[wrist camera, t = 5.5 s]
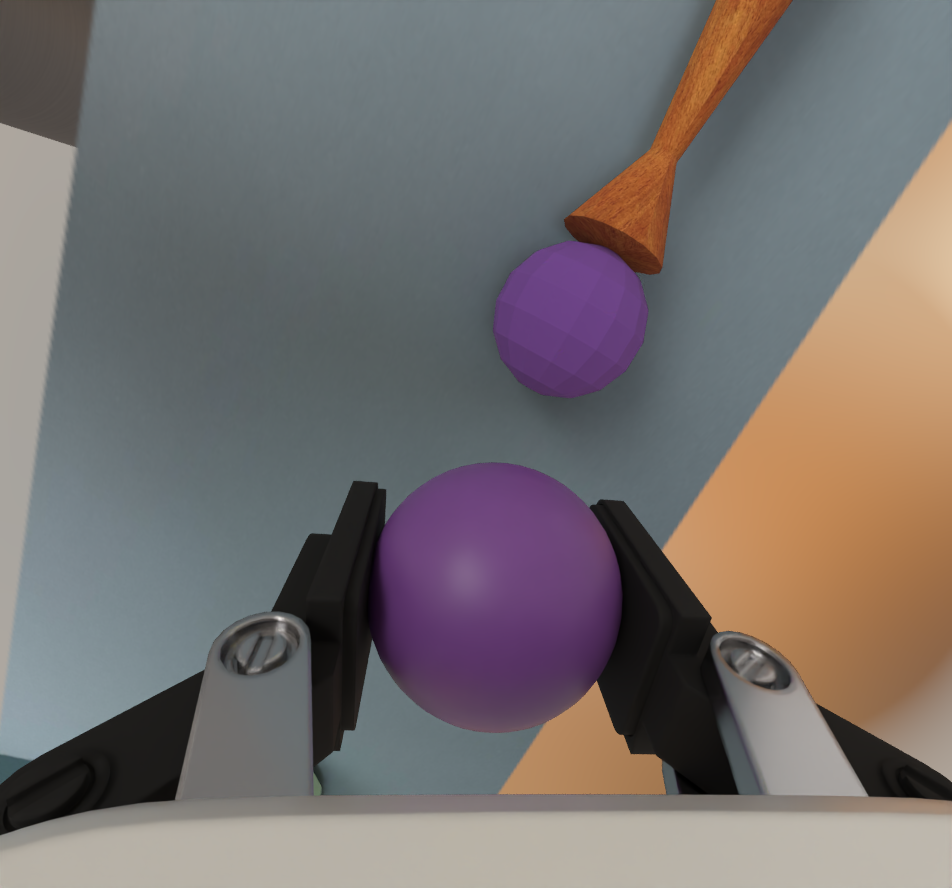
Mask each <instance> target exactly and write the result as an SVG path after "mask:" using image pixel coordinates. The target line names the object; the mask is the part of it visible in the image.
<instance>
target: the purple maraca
mask: <svg viewBox="0 0 952 888" xmlns="http://www.w3.org/2000/svg"><path fill="white" fill-rule="evenodd" d="M792 1H793V0H716V2H715V4H714V7H713V9H712V11H711V13H710V16H709V18H708V20H707V22H706V25H705V27H704V29H703V31H702V34H701V36H700V38H699V40H698V43H697V45H696V47H695V49H694V52H693V54H692V56H691V58H690V61H689V63H688V65H687V68H686V70H685V72H684V74H683V77H682V79H681V81H680V83H679V86H678V88H677V90H676V92H675V95H674V97H673V99H672V101H671V104H670V106H669V108H668V110H667V113H666V115H665V117H664V119H663V122H662V124H661V126H660V128H659V131H658V133H657V135H656V137H655V140H654V142H653V144H652V146H651V149H650V150H649V151H648V152H646V153H645V154H644V155H643V156H642V157H640V158H639V159H638V160H637V161H635V162H634V163H633V164H632V165H630V166H629V167H628V168H627V169H626V170H624V171H623V172H622V173H621V174H619V175H618V176H617V177H616V178H614V179H613V180H612V181H611V182H610V183H608V184H607V185H606V186H605V187H603V188H602V189H601V190H600V191H598V192H597V193H596V194H595V195H594V196H592V197H591V198H590V199H589V200H587V201H586V202H585V203H584V204H582V205H581V206H580V207H579V208H578V209H576V210H575V211H574V212H573V213H571V214H570V215H569V216H568V217H566V218H565V219H564V222H565V227H566V228H567V230H568V231H569V232H570V233H571V235H572V236H573V237H574V238H575V239H577V240H578V241H579V242H576V241H566V242H563V243H559V244H556V245H553V246H550V247H547V248H544V249H541V250H538V251H537V252H535V253H533V254H532V255H531V256H530V257H529V258H528V259H526V260H525V261H524V262H523V263H522V264H521V265H519V266H518V267H517V268H516V269H515V270H514V271H512V272H511V273H510V275H509V277H508V279H507V281H506V283H505V285H504V287H503V289H502V290H501V292H500V294H499V296H498V298H497V300H496V307H495V316H494V325H493V333H494V336H495V340H496V343H497V347H498V350H499V354H500V357H501V360H502V361H503V362H504V363H505V365H506V366H507V367H508V368H509V370H510V371H511V372H512V374H513V375H514V376H515V377H516V379H517V380H518V381H519V382H520V383H522V384H523V385H525V386H526V387H528V388H530V389H532V390H534V391H535V392H537V393H539V394H542V395H547V396H556V397H564V398H574V397H578V396H581V395H585V394H588V393H592V392H596V391H599V390H601V389H602V388H604V387H605V386H606V385H608V384H609V383H610V382H612V381H613V380H614V379H616V378H617V377H618V376H620V375H621V374H622V373H624V372H625V371H626V370H627V368H628V366H629V365H630V363H631V361H632V360H633V358H634V357H635V355H636V353H637V352H638V350H639V348H640V347H641V345H642V344H643V340H644V334H645V328H646V322H647V317H648V307H647V304H646V300H645V296H644V292H643V288H642V284H641V281H640V279H639V278H638V276H637V275H636V274H635V273H634V272H638V273H644V274H649V275H651V274H658V273H660V271H661V269H662V265H663V258H664V250H665V243H666V236H667V228H668V221H669V214H670V206H671V199H672V192H673V184H674V177H675V170H676V163H677V162H678V160H679V159H680V157H681V156H682V155H683V153H684V152H685V150H686V149H687V148H688V146H689V145H690V143H691V142H692V141H693V139H694V138H695V136H696V135H697V134H698V132H699V131H700V129H701V128H702V127H703V125H704V124H705V122H706V121H707V120H708V118H709V117H710V115H711V114H712V113H713V111H714V110H715V108H716V107H717V106H718V104H719V103H720V101H721V100H722V99H723V97H724V96H725V94H726V93H727V92H728V90H729V89H730V87H731V86H732V85H733V83H734V82H735V80H736V79H737V78H738V76H739V75H740V73H741V72H742V71H743V69H744V68H745V66H746V65H747V64H748V62H749V61H750V59H751V58H752V57H753V55H754V54H755V52H756V51H757V50H758V48H759V47H760V45H761V44H762V43H763V41H764V40H765V38H766V37H767V36H768V34H769V33H770V31H771V30H772V29H773V27H774V26H775V24H776V23H777V22H778V20H779V19H780V17H781V16H782V15H783V13H784V12H785V10H786V9H787V8H788V6H789V5H790V3H791V2H792Z"/></svg>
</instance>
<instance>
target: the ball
mask: <svg viewBox="0 0 952 888" xmlns="http://www.w3.org/2000/svg"><path fill="white" fill-rule="evenodd" d="M622 599H623V592H622V582H621V576H620V569H619V565H618V562H617V558H616V555H615V552H614V549H613V547H612V544H611V542H610V540H609V538H608V536H607V533H606V531H605V530H604V528H603V527H602V525H601V524H600V522H599V521H598V519H597V518H596V516H595V515H594V513H593V512H592V511H591V509H590V508H589V507H588V506H587V505H586V504H585V503H584V502H583V501H582V500H581V499H580V498H579V497H578V496H577V495H576V494H575V493H573V492H572V491H571V490H570V489H569V488H567V487H566V486H565V485H563V484H561V483H560V482H558V481H557V480H555V479H553V478H551V477H549V476H547V475H545V474H543V473H541V472H538V471H536V470H534V469H530V468H527V467H524V466H520V465H514V464H508V463H492V462H491V463H477V464H472V465H466V466H462V467H458V468H455V469H452V470H449V471H447V472H445V473H442V474H440V475H438V476H436V477H434V478H433V479H431V480H429V481H428V482H426V483H425V484H423V485H422V486H420V487H419V488H417V489H416V490H415V491H414V492H413V493H411V494H410V495H409V496H408V497H407V498H406V499H405V500H404V501H403V502H402V503H401V504H400V505H399V507H398V508H397V509H396V510H395V511H394V513H393V514H392V515H391V517H390V518H389V520H388V521H387V523H386V524H385V526H384V528H383V530H382V532H381V534H380V536H379V538H378V541H377V543H376V546H375V550H374V555H373V561H372V567H371V574H370V583H369V594H368V622H369V627H370V632H371V636H372V639H373V641H374V644H375V646H376V649H377V652H378V654H379V657H380V659H381V661H382V663H383V664H384V666H385V668H386V670H387V671H388V673H389V674H390V676H391V677H392V679H393V680H394V681H395V683H396V684H397V685H398V686H399V688H400V689H401V690H402V691H403V692H404V693H405V694H406V695H407V696H408V697H409V698H410V699H412V700H413V701H414V702H415V703H416V704H417V705H418V706H420V707H421V708H422V709H424V710H425V711H426V712H428V713H430V714H431V715H433V716H435V717H437V718H439V719H441V720H443V721H445V722H447V723H449V724H452V725H454V726H457V727H460V728H463V729H468V730H472V731H479V732H489V733H502V732H513V731H519V730H524V729H528V728H532V727H534V726H537V725H540V724H543V723H545V722H547V721H549V720H551V719H553V718H555V717H556V716H558V715H560V714H561V713H563V712H564V711H565V710H567V709H569V708H570V707H571V706H573V705H574V704H575V703H577V702H578V701H579V700H580V699H581V698H582V697H583V696H584V695H585V694H586V693H587V691H588V690H589V689H590V688H591V687H592V685H593V684H594V683H595V682H596V680H597V679H598V678H599V677H600V675H601V673H602V672H603V670H604V668H605V666H606V664H607V662H608V660H609V658H610V656H611V654H612V652H613V649H614V647H615V644H616V640H617V636H618V632H619V628H620V623H621V618H622Z"/></svg>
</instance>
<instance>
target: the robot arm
mask: <svg viewBox="0 0 952 888" xmlns="http://www.w3.org/2000/svg"><path fill="white" fill-rule="evenodd" d="M385 508H386V489H378V483H376V482H362V481H353V483H352V486H351V488H350V491H349V493H348V496H347V498H346V501H345V503H344V505H343V508H342V510H341V513H340V515H339V518H338V520H337V523H336V525H335V528H334V530H333V533H332V535H329V534H313V533H312V534H310V535H309V536H308V538H307V539H306V542H305V544H304V546H303V548H302V550H301V552H300V554H299V556H298V558H297V560H296V562H295V564H294V566H293V568H292V570H291V572H290V574H289V576H288V578H287V580H286V583H285V585H284V587H283V589H282V591H281V593H280V595H279V597H278V599H277V601H276V603H275V605H274V607H273V609H272V611H271V612H262V613H258V614H254V615H250V616H248V617H245V618H243V619H241V620H239V621H236V622H235V623H233V624H232V625H231V626H229V627H228V628H226V629H225V630H223V632H222V633H221V634H220V635H219V636H218V637H217V638H216V639H215V641H214V642H213V644H212V647H211V649H210V651H209V654H208V658H207V663H206V667H205V670H203V671H201V672H199V673H197V674H195V675H193V676H192V677H190V678H188V679H186V680H184V681H182V682H180V683H178V684H176V685H174V686H172V687H171V688H169V689H167V690H165V691H163V692H161V693H159V694H157V695H155V696H153V697H152V698H150V699H148V700H146V701H144V702H142V703H140V704H138V705H136V706H134V707H132V708H131V709H129V710H127V711H125V712H123V713H121V714H119V715H117V716H115V717H113V718H111V719H110V720H108V721H106V722H104V723H102V724H100V725H98V726H96V727H94V728H92V729H90V730H89V731H87V732H85V733H83V734H81V735H79V736H77V737H75V738H73V739H71V740H69V741H68V742H66V743H64V744H62V745H60V746H58V747H56V748H54V749H52V750H50V751H49V752H47V753H45V754H43V755H41V756H39V757H38V758H36V759H35V760H33V761H31V762H30V763H28V764H27V765H25V766H23V767H22V768H20V769H18V770H17V771H16V772H15V773H14V774H12V775H11V776H10V777H9V778H8V779H6V780H5V781H4V782H3V783H2V784H1V785H0V888H952V782H951V781H950V780H948V779H947V778H946V777H944V776H943V775H941V774H940V773H938V772H937V771H935V770H933V769H931V768H930V767H929V766H927V765H926V764H924V763H922V762H920V761H919V760H917V759H915V758H913V757H911V756H910V755H908V754H906V753H904V752H902V751H900V750H899V749H897V748H895V747H893V746H892V745H890V744H888V743H886V742H884V741H883V740H881V739H879V738H877V737H875V736H874V735H872V734H870V733H868V732H867V731H865V730H863V729H861V728H859V727H858V726H856V725H854V724H852V723H850V722H849V721H847V720H845V719H843V718H841V717H840V716H838V715H836V714H834V713H832V712H831V711H829V710H827V709H825V708H823V707H822V706H820V705H818V704H816V703H815V701H814V700H813V698H812V696H811V695H810V693H809V691H808V689H807V687H806V686H805V684H804V682H803V680H802V679H801V677H800V675H799V673H798V672H797V670H796V669H795V668H794V666H793V665H792V664H791V662H790V661H789V660H788V659H786V658H785V657H784V656H783V655H782V654H781V653H780V652H779V651H777V650H776V649H774V648H773V647H771V646H770V645H768V644H767V643H765V642H763V641H761V640H759V639H757V638H755V637H753V636H750V635H747V634H743V633H740V632H733V631H726V632H719V633H718V632H717V631H716V629H715V628H714V627H713V625H712V624H711V623H710V621H711V616H710V615H709V613H708V612H707V611H706V610H705V608H704V607H703V605H702V604H701V603H700V601H699V600H698V599H697V597H696V596H695V595H694V593H693V592H692V591H691V589H690V588H689V587H688V585H687V584H686V583H685V581H684V580H683V579H682V577H681V576H680V575H679V574H678V572H677V571H676V570H675V568H674V567H673V565H672V564H671V563H670V562H669V560H668V559H667V558H666V556H665V555H664V554H663V552H662V551H661V550H660V548H659V547H658V546H657V544H656V543H655V542H654V540H653V539H652V538H651V536H650V535H649V534H648V532H647V531H646V530H645V528H644V527H643V526H642V524H641V523H640V522H639V520H638V519H637V518H636V516H635V515H634V514H633V512H632V511H631V510H630V508H629V507H628V506H627V505H626V503H625V502H624V501H615V500H602V499H600V500H599V501H598V502H597V504H596V505H591V506H590V509H591V511H592V512H593V513H594V515H595V516H596V518H597V519H598V521H599V522H600V524H601V525H602V527H603V528H604V530H605V531H606V533H607V536H608V538H609V540H610V542H611V544H612V547H613V549H614V552H615V555H616V558H617V562H618V565H619V569H620V576H621V582H622V592H623V599H622V618H621V623H620V628H619V632H618V636H617V640H616V644H615V647H614V649H613V652H612V654H611V656H610V658H609V660H608V662H607V664H606V666H605V668H604V670H603V672H602V673H601V675H600V677H599V678H598V679H597V682H598V685H599V688H600V691H601V693H602V696H603V698H604V701H605V704H606V707H607V710H608V712H609V715H610V718H611V721H612V723H613V726H614V728H615V730H616V732H617V733H618V734H620V735H624V737H625V739H626V742H627V745H628V748H629V750H630V753H631V754H656V755H657V756H658V757H659V758H660V759H662V772H663V778H664V783H665V789H666V795H631V794H629V795H628V794H622V795H621V794H617V795H615V794H614V795H613V794H612V795H610V794H609V795H608V794H607V795H603V794H594V795H590V794H586V795H585V794H567V795H566V794H558V795H557V794H545V795H543V794H534V795H533V794H529V795H528V794H527V795H526V794H523V795H522V794H516V795H515V794H513V795H512V794H510V795H508V794H505V795H504V794H503V795H501V794H488V795H320V796H314V783H313V767H314V766H316V765H317V764H318V763H319V762H321V761H322V760H323V759H324V758H326V757H327V756H328V755H329V754H331V753H332V752H333V751H340V748H341V743H342V739H343V734H344V730H355V727H356V723H357V717H358V712H359V706H360V701H361V696H362V690H363V685H364V680H365V674H366V669H367V663H368V658H369V653H370V647H371V642H372V636H371V632H370V627H369V622H368V594H369V583H370V574H371V567H372V561H373V555H374V550H375V546H376V543H377V541H378V538H379V536H380V534H381V532H382V530H383V528H384V526H385Z"/></svg>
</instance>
